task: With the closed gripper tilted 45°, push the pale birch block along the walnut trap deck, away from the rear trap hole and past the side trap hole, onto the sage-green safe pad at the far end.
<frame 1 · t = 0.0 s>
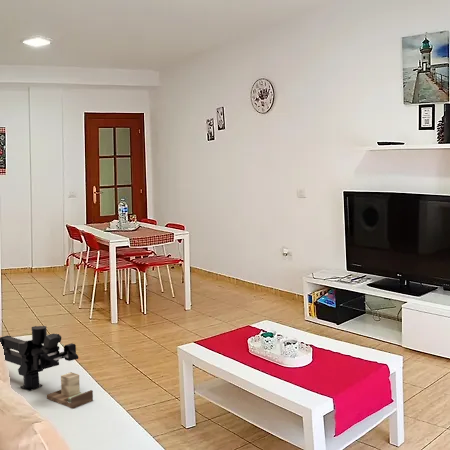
hand: (68, 360, 225), 16 cm above the table, fingers open, 9 cm apart
trap deck: (69, 399, 228), on the table
birch block: (70, 393, 230), point 1 cm above the table, touching trap deck
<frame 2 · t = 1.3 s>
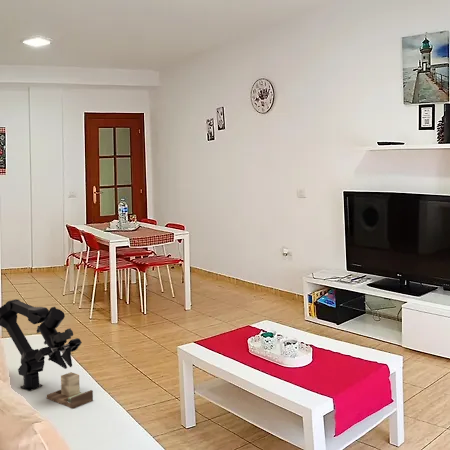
hand: (68, 367, 225), 14 cm above the table, fingers closed
nothing on the table moved.
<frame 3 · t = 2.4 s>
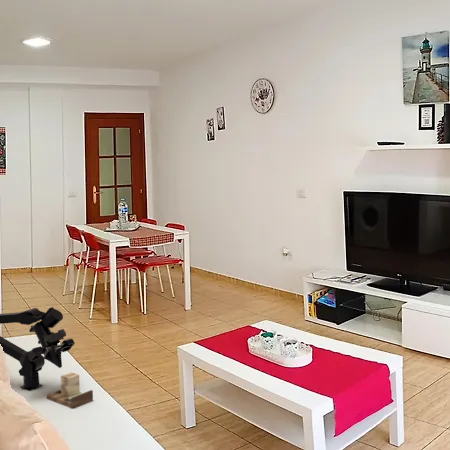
hand: (60, 367, 231), 12 cm above the table, fingers closed
nothing on the table moved.
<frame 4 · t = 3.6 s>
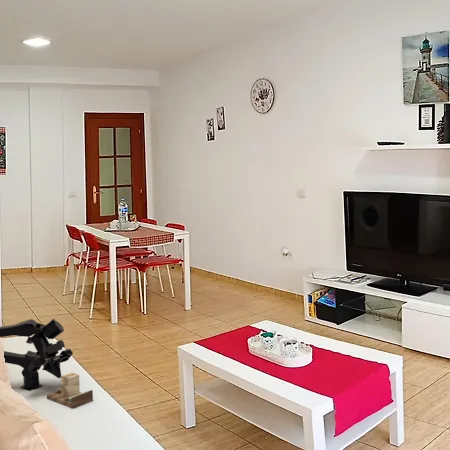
hand: (60, 377, 234), 7 cm above the table, fingers closed
nothing on the table moved.
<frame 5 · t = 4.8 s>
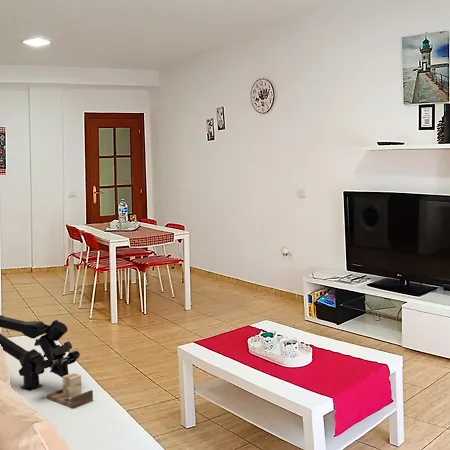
hand: (68, 379, 231), 7 cm above the table, fingers closed, pressing on birch block
birch block: (72, 394, 229), point 1 cm above the table, touching gripper, trap deck
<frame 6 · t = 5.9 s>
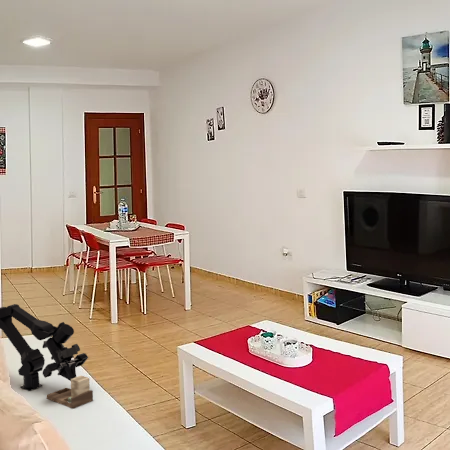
hand: (75, 382, 228), 7 cm above the table, fingers closed
birch block: (80, 397, 226), point 1 cm above the table, touching trap deck
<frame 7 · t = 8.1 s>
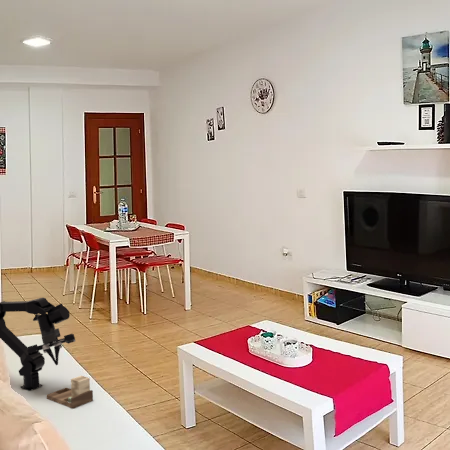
hand: (56, 365, 232), 12 cm above the table, fingers closed
nothing on the table moved.
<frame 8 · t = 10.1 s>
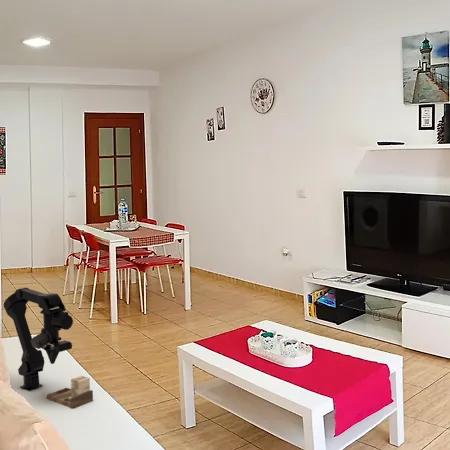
hand: (52, 363, 231), 13 cm above the table, fingers closed
nothing on the table moved.
at the end: birch block 0.9 cm from the target spot on the trap deck, point 1.5 cm above the trap deck's base; birch block tilted 0° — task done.
